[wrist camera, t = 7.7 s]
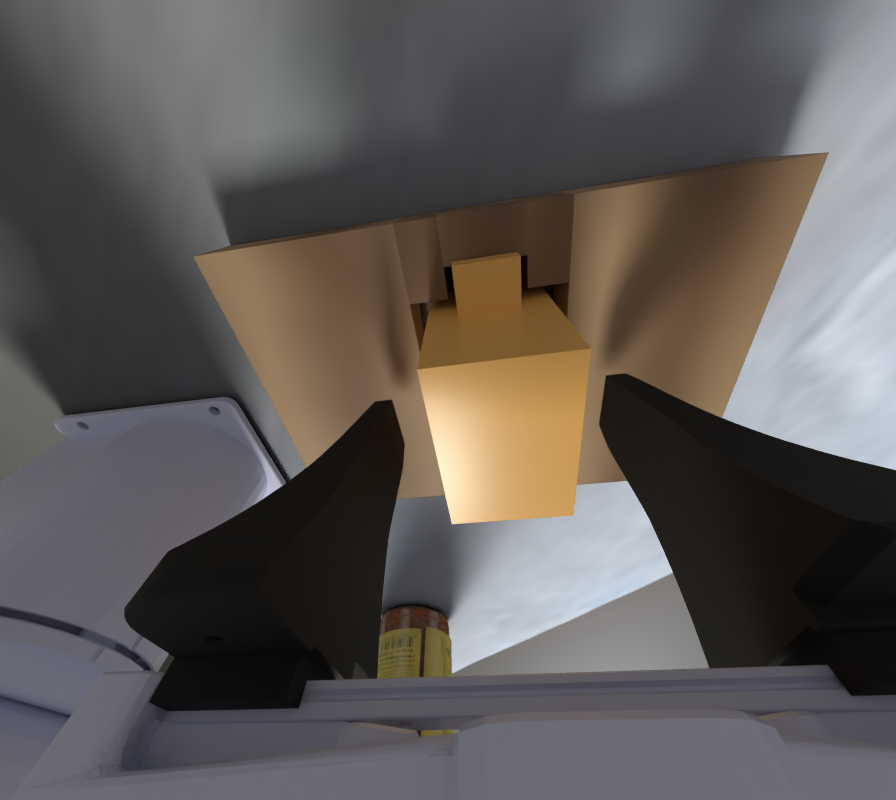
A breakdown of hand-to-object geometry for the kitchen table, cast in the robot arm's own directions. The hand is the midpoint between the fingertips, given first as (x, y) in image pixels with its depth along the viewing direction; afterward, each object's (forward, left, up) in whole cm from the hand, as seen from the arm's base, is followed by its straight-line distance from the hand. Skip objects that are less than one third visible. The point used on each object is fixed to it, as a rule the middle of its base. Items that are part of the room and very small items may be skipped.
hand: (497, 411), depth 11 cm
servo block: (0, 0, -4) cm, 4 cm away
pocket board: (0, 0, -4) cm, 4 cm away
